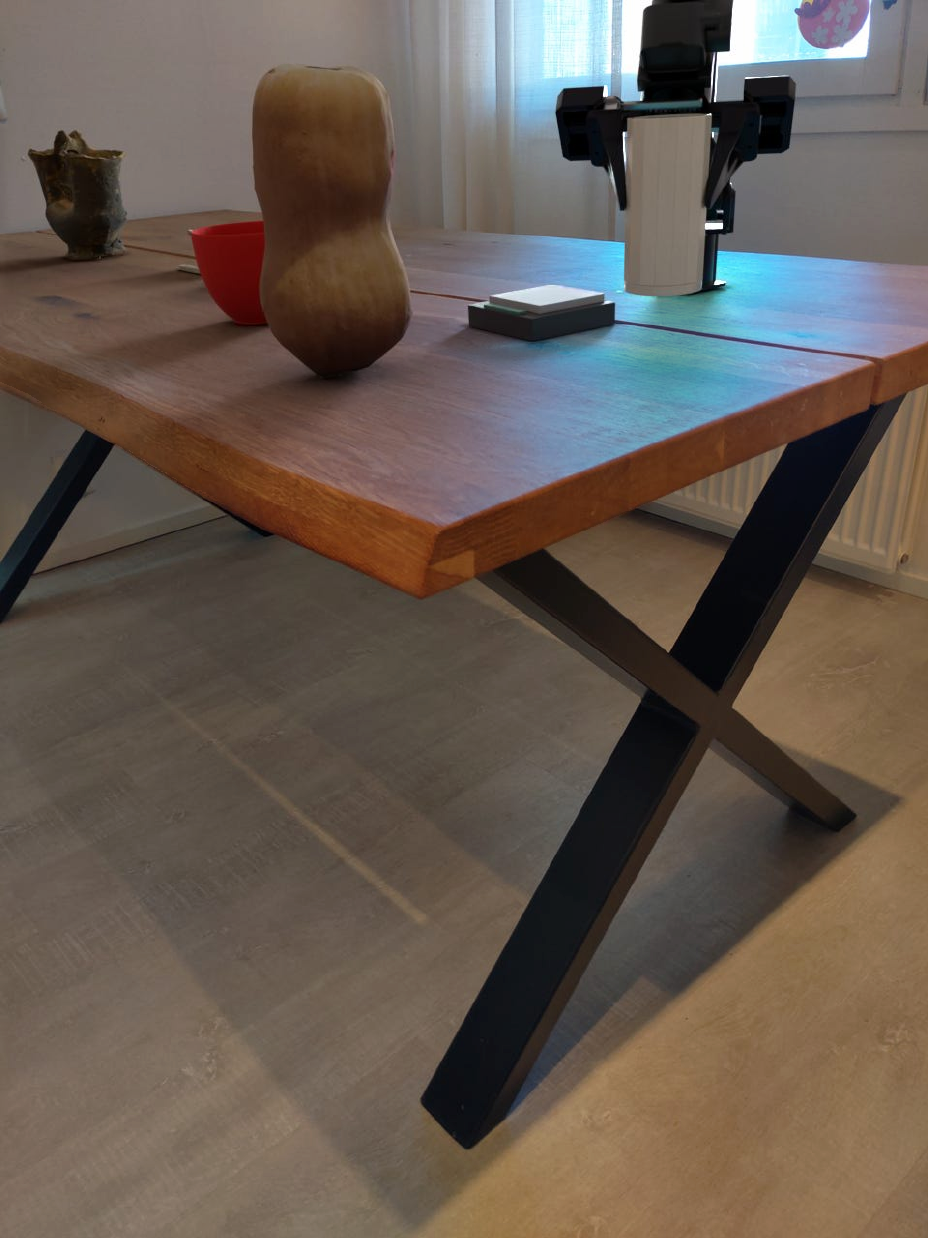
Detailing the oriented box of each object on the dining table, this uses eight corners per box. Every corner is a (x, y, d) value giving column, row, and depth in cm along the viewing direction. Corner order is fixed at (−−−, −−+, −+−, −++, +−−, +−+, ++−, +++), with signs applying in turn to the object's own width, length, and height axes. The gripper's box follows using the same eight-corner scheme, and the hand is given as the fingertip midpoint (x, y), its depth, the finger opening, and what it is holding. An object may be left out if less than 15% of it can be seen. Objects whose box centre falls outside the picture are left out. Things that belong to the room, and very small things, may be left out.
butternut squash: (431, 379, 88) (410, 53, 77) (279, 398, 85) (232, 62, 74) (396, 347, 100) (372, 61, 89) (261, 363, 97) (218, 69, 86)
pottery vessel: (38, 254, 181) (9, 132, 171) (96, 246, 187) (71, 127, 177) (92, 266, 163) (63, 130, 154) (154, 257, 169) (130, 126, 160)
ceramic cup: (258, 301, 128) (246, 216, 123) (340, 315, 117) (331, 223, 112) (167, 319, 120) (150, 229, 115) (246, 336, 109) (232, 238, 104)
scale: (548, 310, 113) (548, 282, 112) (614, 323, 105) (615, 294, 104) (468, 325, 108) (467, 296, 106) (532, 341, 100) (531, 310, 98)
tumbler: (663, 279, 88) (669, 113, 82) (718, 287, 84) (729, 112, 77) (608, 289, 85) (610, 118, 79) (661, 299, 80) (669, 118, 74)
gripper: (558, -28, 79) (533, 136, 75) (807, -49, 74) (796, 124, 70) (574, 83, 89) (553, 233, 85) (794, 71, 85) (783, 229, 81)
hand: (664, 206), depth 80 cm, fingers closed on tumbler, 6 cm apart
